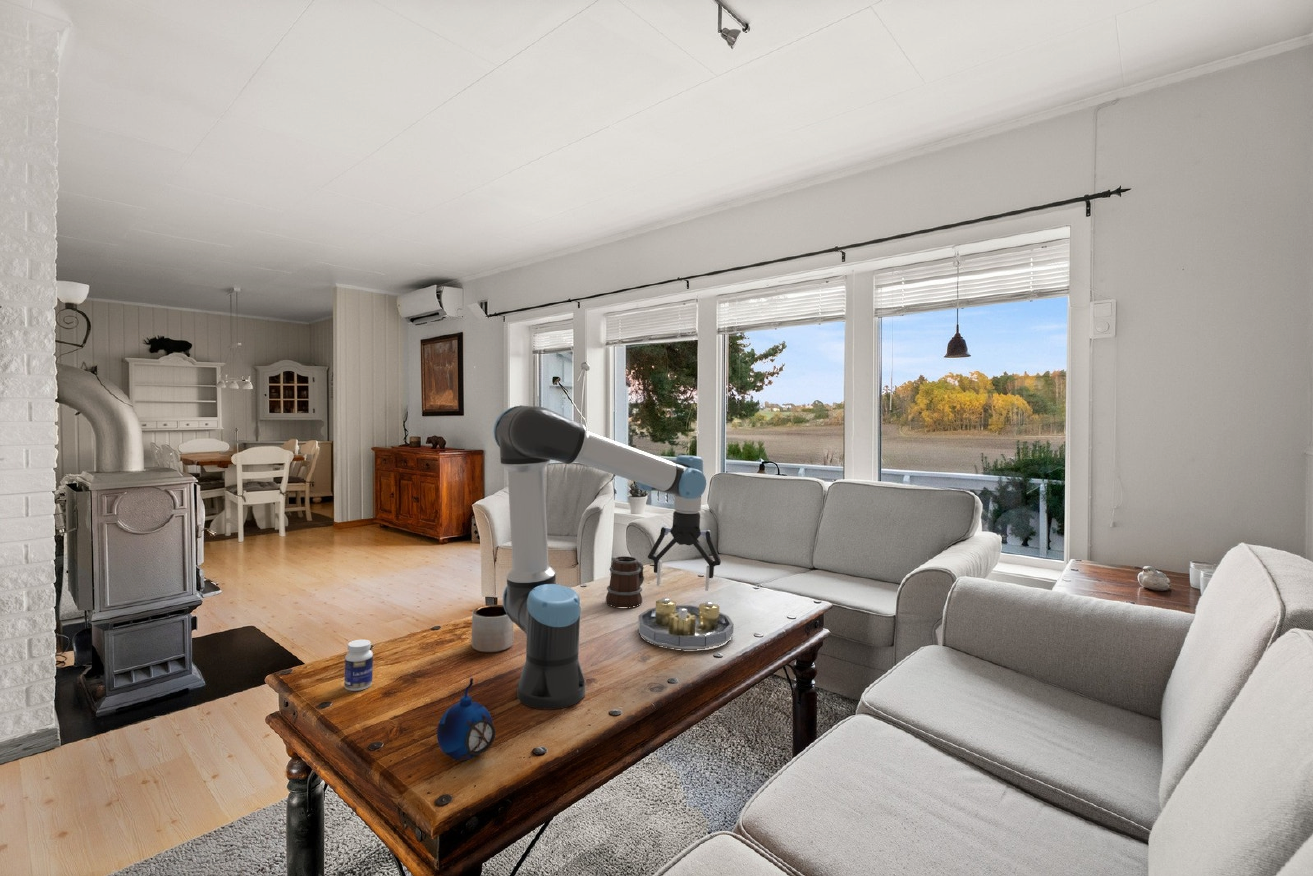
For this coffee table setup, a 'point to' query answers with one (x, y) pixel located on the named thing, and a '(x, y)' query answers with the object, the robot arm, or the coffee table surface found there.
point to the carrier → (709, 620)
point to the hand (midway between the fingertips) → (682, 587)
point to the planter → (491, 629)
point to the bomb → (465, 729)
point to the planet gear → (682, 625)
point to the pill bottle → (358, 665)
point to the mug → (625, 582)
